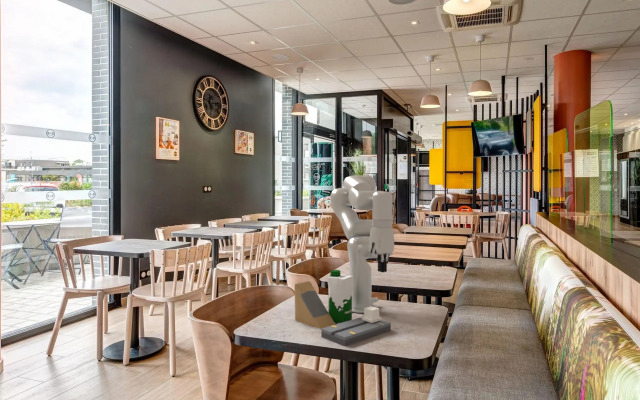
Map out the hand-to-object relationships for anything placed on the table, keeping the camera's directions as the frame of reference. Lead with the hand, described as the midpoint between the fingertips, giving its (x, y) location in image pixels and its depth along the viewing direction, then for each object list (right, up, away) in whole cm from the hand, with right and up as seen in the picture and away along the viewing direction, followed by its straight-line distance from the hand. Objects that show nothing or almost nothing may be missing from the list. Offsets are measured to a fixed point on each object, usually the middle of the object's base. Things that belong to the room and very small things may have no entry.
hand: (382, 271), depth 175 cm
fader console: (-10, -21, -8) cm, 25 cm away
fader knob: (-4, -19, -3) cm, 20 cm away
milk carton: (-16, -21, +7) cm, 27 cm away
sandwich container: (-26, -21, +5) cm, 34 cm away
